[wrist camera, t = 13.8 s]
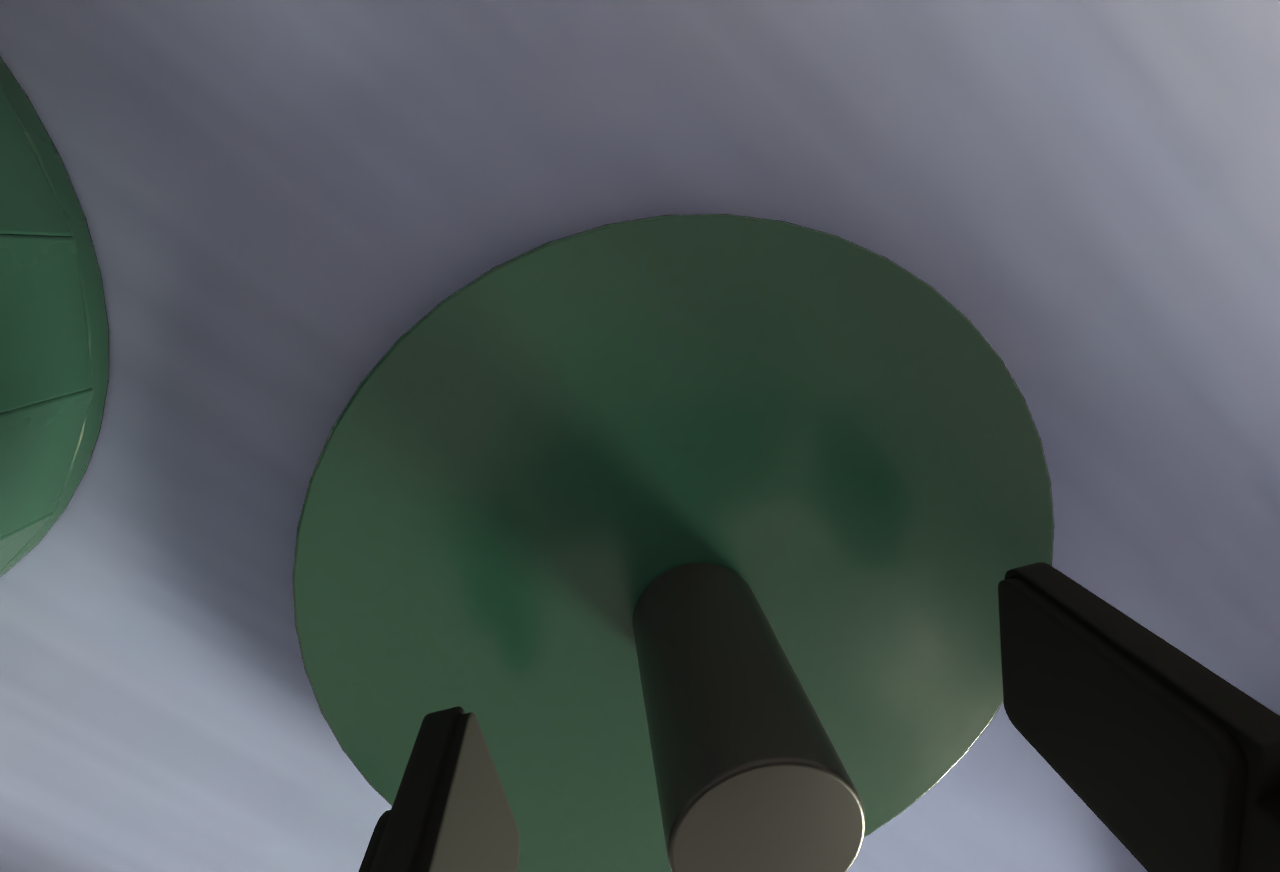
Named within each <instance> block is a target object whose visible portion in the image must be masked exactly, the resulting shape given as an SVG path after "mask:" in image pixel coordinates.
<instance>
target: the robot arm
mask: <svg viewBox="0 0 1280 872" xmlns="http://www.w3.org/2000/svg"><path fill="white" fill-rule="evenodd" d="M998 601H999V621H1000V641H1001V661H1002V681H1003V701H1004V707H1005V710H1006V713H1007V715H1008V717H1009V719H1010V721H1011V722H1012V724H1013V725H1014V726H1015V728H1016V729H1017V730H1018V731H1019V732H1020V733H1021V734H1022V735H1023V736H1024V737H1025V738H1026V740H1027V741H1028V742H1029V743H1030V744H1031V745H1032V746H1033V747H1034V748H1035V749H1036V750H1037V752H1038V753H1039V754H1040V755H1041V756H1042V757H1043V758H1044V759H1045V760H1046V761H1047V762H1048V763H1049V765H1050V766H1051V767H1052V768H1053V769H1054V770H1055V771H1056V772H1057V773H1058V774H1059V775H1060V777H1061V778H1062V779H1063V780H1064V781H1065V782H1066V783H1067V784H1068V785H1069V786H1070V787H1071V788H1072V790H1073V791H1074V792H1075V793H1076V794H1077V795H1078V796H1079V797H1080V798H1081V799H1082V800H1083V802H1084V803H1085V804H1086V805H1087V806H1088V807H1089V808H1090V809H1091V810H1092V811H1093V812H1094V813H1095V815H1096V816H1097V817H1098V818H1099V819H1100V820H1101V821H1102V822H1103V823H1104V824H1105V825H1106V826H1107V828H1108V829H1109V830H1110V831H1111V832H1112V833H1113V834H1114V835H1115V836H1116V837H1117V838H1118V840H1119V841H1120V842H1121V843H1122V844H1123V845H1124V846H1125V847H1126V848H1127V849H1128V850H1129V851H1130V853H1131V854H1132V855H1133V856H1134V857H1135V858H1136V859H1137V860H1138V861H1139V862H1140V863H1141V865H1142V866H1143V867H1144V868H1145V869H1146V870H1147V871H1148V872H1280V716H1279V715H1277V714H1276V713H1274V712H1273V711H1271V710H1270V709H1268V708H1267V707H1265V706H1264V705H1262V704H1261V703H1259V702H1258V701H1256V700H1254V699H1253V698H1251V697H1250V696H1248V695H1247V694H1245V693H1244V692H1242V691H1241V690H1239V689H1238V688H1236V687H1235V686H1233V685H1232V684H1230V683H1229V682H1227V681H1226V680H1224V679H1223V678H1221V677H1219V676H1218V675H1216V674H1215V673H1213V672H1212V671H1210V670H1209V669H1207V668H1206V667H1204V666H1203V665H1201V664H1200V663H1198V662H1197V661H1195V660H1194V659H1192V658H1191V657H1189V656H1187V655H1186V654H1184V653H1183V652H1181V651H1180V650H1178V649H1177V648H1175V647H1174V646H1172V645H1171V644H1169V643H1168V642H1166V641H1165V640H1163V639H1162V638H1160V637H1159V636H1157V635H1156V634H1154V633H1152V632H1151V631H1149V630H1148V629H1146V628H1145V627H1143V626H1142V625H1140V624H1139V623H1137V622H1136V621H1134V620H1133V619H1131V618H1130V617H1128V616H1127V615H1125V614H1124V613H1122V612H1120V611H1119V610H1117V609H1116V608H1114V607H1113V606H1111V605H1110V604H1108V603H1107V602H1105V601H1104V600H1102V599H1101V598H1099V597H1098V596H1096V595H1095V594H1093V593H1092V592H1090V591H1089V590H1087V589H1085V588H1084V587H1082V586H1081V585H1079V584H1078V583H1076V582H1075V581H1073V580H1072V579H1070V578H1069V577H1067V576H1066V575H1064V574H1063V573H1061V572H1060V571H1058V570H1057V569H1055V568H1053V567H1052V566H1050V565H1049V564H1046V563H1044V562H1038V563H1034V564H1030V565H1026V566H1022V567H1018V568H1014V569H1010V570H1008V571H1007V572H1006V574H1005V580H1002V581H1000V582H999V584H998ZM519 857H520V836H519V830H518V827H517V824H516V821H515V818H514V816H513V813H512V810H511V808H510V805H509V802H508V800H507V797H506V794H505V792H504V789H503V786H502V784H501V781H500V778H499V776H498V773H497V770H496V768H495V765H494V762H493V760H492V757H491V754H490V751H489V749H488V746H487V743H486V741H485V738H484V735H483V733H482V730H481V727H480V725H479V722H478V719H477V717H476V715H475V714H474V713H473V712H470V713H465V711H464V709H463V708H462V707H460V706H457V707H453V708H449V709H445V710H441V711H437V712H433V713H429V714H427V715H426V716H425V717H424V719H423V721H422V724H421V727H420V730H419V732H418V735H417V738H416V741H415V744H414V747H413V749H412V752H411V755H410V758H409V761H408V764H407V766H406V769H405V772H404V775H403V778H402V781H401V783H400V786H399V789H398V792H397V795H396V798H395V800H394V803H393V806H392V809H391V810H389V811H386V812H385V813H384V814H383V815H382V816H381V817H380V818H379V820H378V822H377V824H376V826H375V829H374V832H373V834H372V837H371V840H370V842H369V845H368V848H367V851H366V853H365V856H364V859H363V861H362V864H361V867H360V869H359V872H518V866H519Z"/></svg>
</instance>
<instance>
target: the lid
mask: <svg viewBox="0 0 1280 872" xmlns="http://www.w3.org/2000/svg"><path fill="white" fill-rule="evenodd" d="M1053 539H1054V516H1053V504H1052V492H1051V482H1050V477H1049V473H1048V469H1047V464H1046V460H1045V456H1044V451H1043V447H1042V443H1041V439H1040V437H1039V434H1038V432H1037V429H1036V426H1035V424H1034V421H1033V419H1032V416H1031V414H1030V411H1029V409H1028V406H1027V404H1026V401H1025V399H1024V397H1023V395H1022V394H1021V392H1020V390H1019V388H1018V387H1017V385H1016V383H1015V382H1014V380H1013V378H1012V377H1011V375H1010V373H1009V372H1008V370H1007V368H1006V366H1005V365H1004V363H1003V361H1002V360H1001V358H1000V357H999V355H998V354H997V353H996V352H995V351H994V349H993V348H992V347H991V346H990V345H989V343H988V342H987V341H986V340H985V339H984V337H983V336H982V335H981V334H980V332H979V331H978V330H977V329H976V328H975V326H974V325H973V324H972V323H971V322H970V320H969V319H968V318H967V317H965V316H964V315H963V314H962V313H961V312H960V311H959V310H957V309H956V308H955V307H954V306H953V305H952V304H951V303H950V302H948V301H947V300H946V299H945V298H944V297H943V296H942V295H941V294H939V293H938V292H937V291H936V290H935V289H934V288H933V287H931V286H930V285H928V284H927V283H925V282H924V281H922V280H921V279H919V278H918V277H916V276H914V275H913V274H911V273H910V272H908V271H907V270H905V269H903V268H902V267H900V266H899V265H897V264H896V263H894V262H893V261H891V260H889V259H888V258H886V257H884V256H881V255H879V254H877V253H875V252H872V251H870V250H868V249H866V248H863V247H861V246H859V245H857V244H854V243H852V242H850V241H848V240H845V239H843V238H841V237H839V236H835V235H832V234H828V233H825V232H821V231H817V230H814V229H810V228H806V227H803V226H799V225H796V224H792V223H788V222H785V221H778V220H770V219H762V218H754V217H746V216H738V215H730V214H695V215H663V216H657V217H651V218H644V219H638V220H632V221H626V222H619V223H613V224H607V225H603V226H600V227H597V228H593V229H590V230H587V231H584V232H580V233H577V234H574V235H571V236H567V237H564V238H561V239H558V240H554V241H551V242H548V243H546V244H544V245H541V246H539V247H537V248H535V249H533V250H531V251H529V252H526V253H524V254H522V255H520V256H518V257H516V258H513V259H511V260H509V261H507V262H505V263H503V264H501V265H498V266H496V267H494V268H492V269H491V270H489V271H488V272H486V273H485V274H483V275H481V276H480V277H478V278H477V279H475V280H474V281H472V282H471V283H469V284H468V285H466V286H465V287H463V288H461V289H460V290H458V291H457V292H455V293H454V294H452V295H451V296H449V297H448V298H446V299H444V300H443V301H442V302H441V303H439V304H438V305H437V306H436V307H435V308H434V309H432V310H431V311H430V312H429V313H428V314H427V315H426V316H424V317H423V318H422V319H421V320H420V321H419V322H418V323H416V324H415V325H414V326H413V327H412V328H411V329H410V330H408V331H407V332H406V333H405V334H404V335H403V336H402V337H400V338H399V339H398V340H397V341H396V343H395V344H394V345H393V346H392V347H391V348H390V350H389V351H388V352H387V353H386V354H385V355H384V357H383V358H382V359H381V360H380V361H379V362H378V364H377V365H376V366H375V367H374V368H373V369H372V371H371V372H370V373H369V374H368V375H367V376H366V378H365V379H364V380H363V381H362V382H361V383H360V385H359V387H358V388H357V390H356V391H355V393H354V395H353V396H352V398H351V399H350V401H349V403H348V404H347V406H346V407H345V409H344V411H343V412H342V414H341V415H340V417H339V418H338V420H337V422H336V423H335V425H334V426H333V428H332V430H331V432H330V434H329V437H328V439H327V441H326V443H325V446H324V448H323V450H322V453H321V455H320V457H319V460H318V462H317V464H316V466H315V469H314V471H313V473H312V476H311V478H310V481H309V485H308V489H307V493H306V497H305V501H304V504H303V508H302V512H301V516H300V520H299V524H298V527H297V537H296V547H295V557H294V567H293V595H294V612H295V626H296V631H297V636H298V640H299V645H300V649H301V654H302V659H303V663H304V668H305V671H306V674H307V677H308V679H309V682H310V684H311V687H312V690H313V692H314V695H315V697H316V700H317V702H318V705H319V708H320V710H321V713H322V714H323V716H324V718H325V720H326V721H327V723H328V725H329V727H330V728H331V730H332V732H333V734H334V735H335V737H336V739H337V741H338V742H339V744H340V746H341V748H342V749H343V751H344V752H345V753H346V755H347V756H348V757H349V759H350V760H351V761H352V762H353V764H354V765H355V766H356V768H357V769H358V770H359V771H360V773H361V774H362V775H363V776H364V778H365V779H366V780H367V782H368V783H369V784H370V785H371V786H372V787H373V788H374V789H375V790H376V791H377V792H378V793H379V794H380V795H381V796H382V797H383V798H384V799H385V800H386V801H387V802H388V803H389V804H390V805H391V806H393V803H394V800H395V798H396V795H397V792H398V789H399V786H400V783H401V781H402V778H403V775H404V772H405V769H406V766H407V764H408V761H409V758H410V755H411V752H412V749H413V747H414V744H415V741H416V738H417V735H418V732H419V730H420V727H421V724H422V721H423V719H424V717H425V716H426V715H427V714H429V713H433V712H437V711H441V710H445V709H449V708H453V707H457V706H460V707H462V708H463V709H464V711H465V713H470V712H473V713H474V714H475V715H476V717H477V719H478V722H479V725H480V727H481V730H482V733H483V735H484V738H485V741H486V743H487V746H488V749H489V751H490V754H491V757H492V760H493V762H494V765H495V768H496V770H497V773H498V776H499V778H500V781H501V784H502V786H503V789H504V792H505V794H506V797H507V800H508V802H509V805H510V808H511V810H512V813H513V816H514V818H515V821H516V824H517V827H518V830H519V836H520V857H519V866H518V872H847V870H848V869H849V868H850V866H851V865H852V864H853V862H854V860H855V859H856V857H857V855H858V853H859V851H860V848H861V846H862V842H863V839H864V837H866V836H867V835H869V834H871V833H872V832H874V831H875V830H877V829H878V828H880V827H881V826H883V825H884V824H885V823H887V822H888V821H890V820H891V819H893V818H894V817H896V816H897V815H899V814H900V813H902V812H903V811H904V810H906V809H907V808H908V807H909V806H910V805H912V804H913V803H914V802H915V801H916V800H918V799H919V798H920V797H921V796H922V795H924V794H925V793H926V792H927V791H928V790H930V789H931V788H932V787H933V786H935V785H936V784H937V783H938V782H939V781H940V780H941V779H942V778H943V776H944V775H945V774H946V773H947V772H948V771H949V770H950V769H951V768H952V767H953V766H954V765H955V764H956V763H957V762H958V761H959V760H960V759H961V758H962V757H963V756H964V755H965V754H966V753H967V751H968V750H969V749H970V747H971V746H972V745H973V744H974V742H975V741H976V740H977V739H978V737H979V736H980V735H981V734H982V732H983V731H984V730H985V729H986V727H987V726H988V725H989V723H990V722H991V721H992V719H993V717H994V716H995V714H996V713H997V711H998V709H999V708H1000V706H1001V705H1002V703H1003V681H1002V661H1001V641H1000V621H999V601H998V584H999V582H1000V581H1002V580H1005V574H1006V572H1007V571H1008V570H1010V569H1014V568H1018V567H1022V566H1026V565H1030V564H1034V563H1038V562H1044V563H1046V564H1049V565H1050V566H1052V556H1053Z"/></svg>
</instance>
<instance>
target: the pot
mask: <svg viewBox="0 0 1280 872" xmlns="http://www.w3.org/2000/svg"><path fill="white" fill-rule="evenodd" d="M108 357H109V329H108V322H107V314H106V307H105V299H104V292H103V285H102V277H101V273H100V269H99V266H98V262H97V258H96V255H95V251H94V248H93V244H92V240H91V237H90V233H89V229H88V226H87V222H86V218H85V216H84V213H83V211H82V209H81V206H80V204H79V201H78V199H77V196H76V194H75V191H74V189H73V186H72V184H71V182H70V179H69V177H68V174H67V172H66V169H65V167H64V164H63V162H62V160H61V157H60V156H59V154H58V152H57V150H56V148H55V146H54V145H53V143H52V141H51V139H50V137H49V135H48V133H47V132H46V130H45V128H44V126H43V124H42V122H41V121H40V119H39V117H38V115H37V113H36V111H35V110H34V108H33V106H32V104H31V102H30V100H29V99H28V97H27V95H26V94H25V92H24V91H23V89H22V88H21V86H20V85H19V84H18V82H17V81H16V79H15V78H14V76H13V75H12V73H11V72H10V70H9V69H8V67H7V66H6V65H5V63H4V62H3V60H2V59H1V57H0V577H1V576H2V575H4V574H5V573H6V572H7V571H9V570H10V569H11V568H12V567H13V566H14V565H15V564H16V563H17V562H19V561H20V560H21V559H22V558H23V557H24V556H25V555H26V554H27V553H29V552H30V551H31V550H32V549H33V548H34V547H35V546H36V545H37V544H38V543H39V542H40V541H41V539H42V538H43V537H44V535H45V534H46V533H47V532H48V530H49V529H50V528H51V527H52V525H53V524H54V523H55V522H56V520H57V519H58V518H59V517H60V515H61V514H62V513H63V512H64V510H65V508H66V507H67V505H68V503H69V501H70V499H71V497H72V496H73V494H74V492H75V490H76V488H77V486H78V485H79V483H80V481H81V479H82V477H83V475H84V474H85V472H86V469H87V466H88V464H89V461H90V458H91V455H92V452H93V449H94V446H95V443H96V440H97V437H98V434H99V431H100V428H101V422H102V416H103V410H104V404H105V398H106V392H107V386H108Z"/></svg>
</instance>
